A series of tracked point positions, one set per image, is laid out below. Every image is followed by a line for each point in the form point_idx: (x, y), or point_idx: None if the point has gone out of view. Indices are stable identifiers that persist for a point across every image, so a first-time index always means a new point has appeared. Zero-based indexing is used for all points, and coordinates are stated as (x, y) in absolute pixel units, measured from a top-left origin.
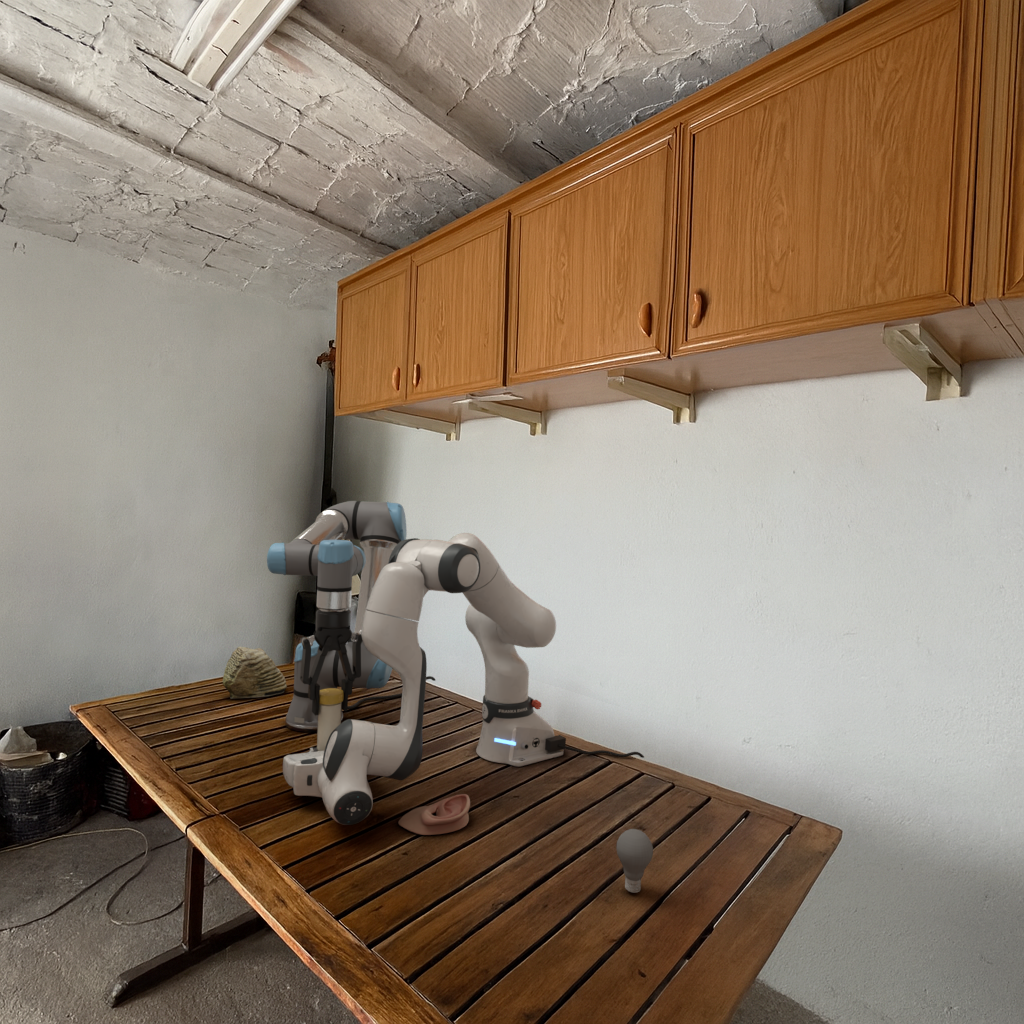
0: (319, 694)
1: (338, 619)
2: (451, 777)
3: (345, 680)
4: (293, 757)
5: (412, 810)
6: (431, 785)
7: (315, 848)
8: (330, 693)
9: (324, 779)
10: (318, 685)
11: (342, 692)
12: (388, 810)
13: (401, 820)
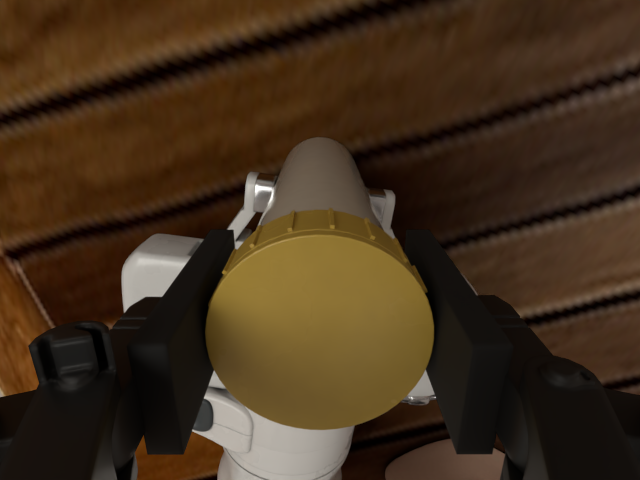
0: (206, 390)
1: None
2: (636, 332)
3: (495, 389)
4: (155, 293)
5: (432, 459)
6: (558, 348)
7: (207, 469)
8: (305, 381)
9: (226, 465)
10: (170, 443)
11: (406, 392)
12: (395, 409)
13: (392, 476)
